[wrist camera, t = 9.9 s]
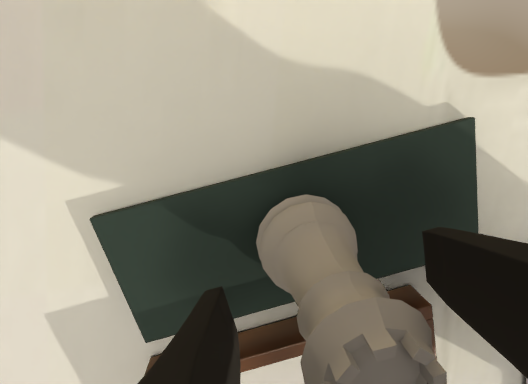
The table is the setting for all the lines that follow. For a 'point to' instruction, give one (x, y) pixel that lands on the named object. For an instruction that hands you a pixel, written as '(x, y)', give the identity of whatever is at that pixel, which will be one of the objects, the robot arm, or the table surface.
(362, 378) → the rook chess piece
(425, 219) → the desk mat
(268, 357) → the desk tray
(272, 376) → the table surface
